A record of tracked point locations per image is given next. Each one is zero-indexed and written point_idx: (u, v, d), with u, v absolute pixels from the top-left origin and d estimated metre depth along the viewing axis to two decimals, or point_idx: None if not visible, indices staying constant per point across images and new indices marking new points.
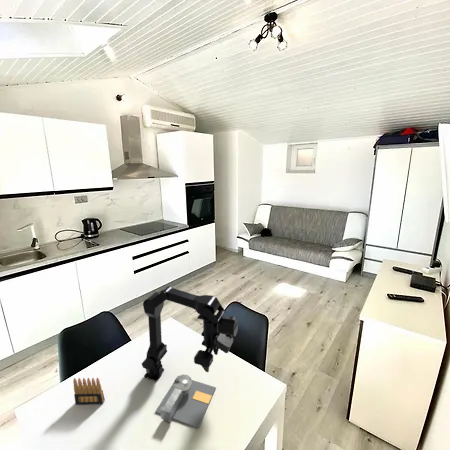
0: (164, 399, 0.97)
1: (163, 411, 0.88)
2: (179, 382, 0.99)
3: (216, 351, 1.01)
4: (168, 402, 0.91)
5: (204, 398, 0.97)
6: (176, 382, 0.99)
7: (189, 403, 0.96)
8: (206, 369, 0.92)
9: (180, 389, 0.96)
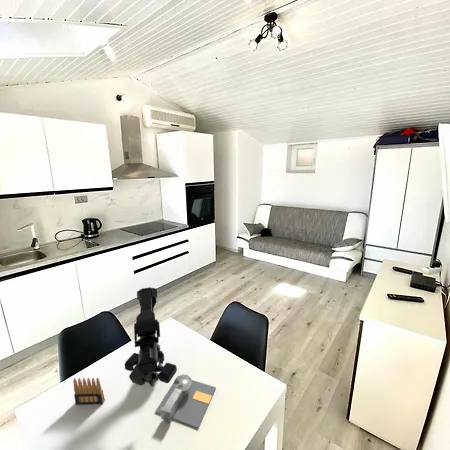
0: (164, 399, 0.97)
1: (163, 411, 0.88)
2: (179, 382, 0.99)
3: None
4: (168, 402, 0.91)
5: (204, 398, 0.97)
6: (176, 382, 0.99)
7: (189, 403, 0.96)
8: None
9: (180, 389, 0.96)
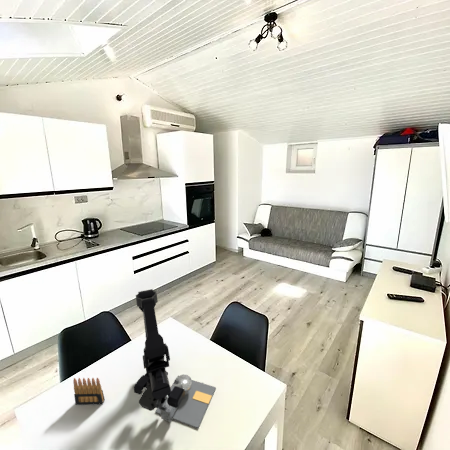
0: None
1: (163, 411, 0.88)
2: (179, 382, 0.99)
3: None
4: None
5: (204, 398, 0.97)
6: (176, 382, 0.99)
7: (189, 403, 0.96)
8: None
9: None
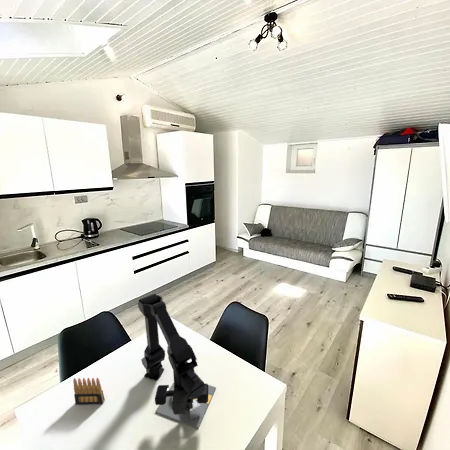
0: None
1: (193, 410, 0.89)
2: None
3: None
4: None
5: None
6: None
7: None
8: None
9: None
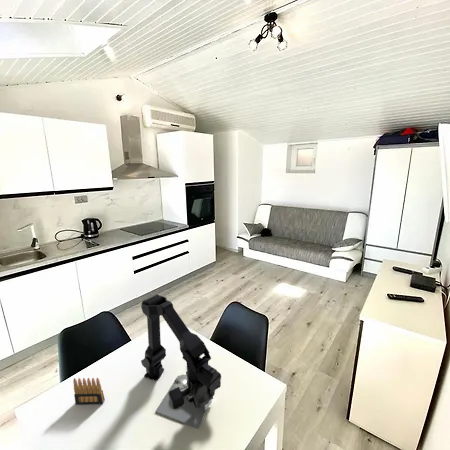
0: (164, 399, 0.97)
1: None
2: (182, 384, 0.99)
3: (195, 403, 0.92)
4: None
5: None
6: (181, 387, 0.97)
7: (189, 403, 0.96)
8: None
9: None
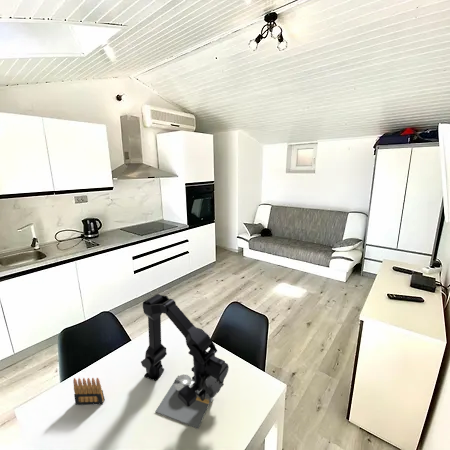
0: (164, 399, 0.97)
1: None
2: (183, 384, 0.99)
3: None
4: None
5: None
6: None
7: None
8: (200, 397, 0.93)
9: (191, 382, 1.00)
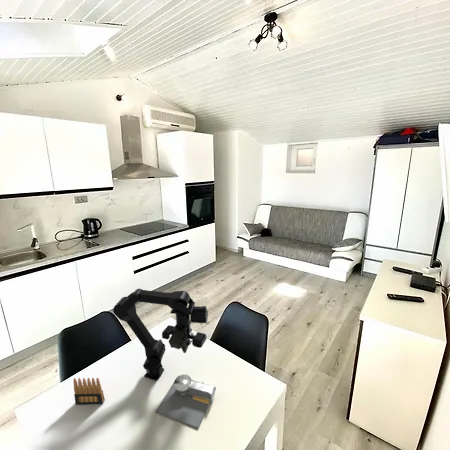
0: (164, 399, 0.97)
1: (212, 391, 0.96)
2: (183, 384, 0.99)
3: None
4: (204, 389, 0.96)
5: None
6: (183, 387, 0.97)
7: (189, 403, 0.96)
8: None
9: (191, 382, 1.00)
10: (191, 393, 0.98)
